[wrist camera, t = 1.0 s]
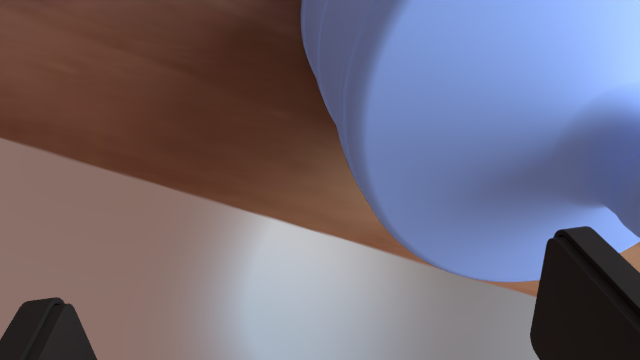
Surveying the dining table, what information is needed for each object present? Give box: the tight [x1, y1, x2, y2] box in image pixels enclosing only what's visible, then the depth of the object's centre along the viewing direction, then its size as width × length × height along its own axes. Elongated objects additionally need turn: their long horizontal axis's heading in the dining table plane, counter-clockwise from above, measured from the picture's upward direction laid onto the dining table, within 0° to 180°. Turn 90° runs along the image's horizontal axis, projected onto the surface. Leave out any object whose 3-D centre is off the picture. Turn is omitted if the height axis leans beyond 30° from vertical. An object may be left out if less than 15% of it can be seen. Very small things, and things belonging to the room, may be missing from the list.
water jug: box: [301, 0, 640, 282], centre depth 23 cm, size 16×16×28 cm
